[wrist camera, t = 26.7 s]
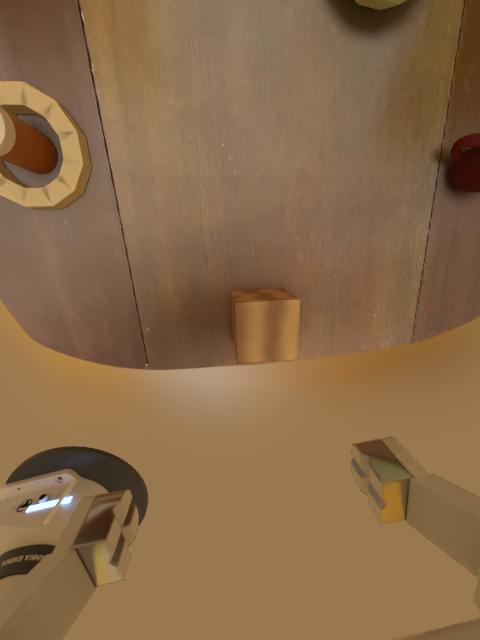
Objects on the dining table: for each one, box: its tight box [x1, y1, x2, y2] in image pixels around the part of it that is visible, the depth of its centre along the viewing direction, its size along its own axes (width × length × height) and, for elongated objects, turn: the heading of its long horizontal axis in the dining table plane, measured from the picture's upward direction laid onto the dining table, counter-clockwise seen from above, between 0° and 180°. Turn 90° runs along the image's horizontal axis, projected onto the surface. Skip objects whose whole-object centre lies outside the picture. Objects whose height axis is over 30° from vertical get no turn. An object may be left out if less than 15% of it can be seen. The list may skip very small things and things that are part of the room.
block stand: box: [231, 288, 300, 363], centre depth 39 cm, size 9×9×9 cm
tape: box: [0, 81, 92, 209], centre depth 32 cm, size 14×14×2 cm
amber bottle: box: [0, 106, 57, 174], centre depth 29 cm, size 5×5×9 cm
